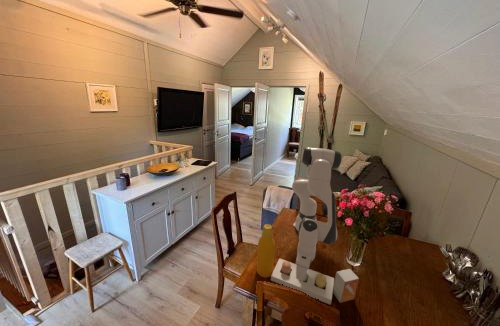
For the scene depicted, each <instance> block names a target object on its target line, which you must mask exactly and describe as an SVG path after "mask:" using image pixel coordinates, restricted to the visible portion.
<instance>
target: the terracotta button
mask: <svg viewBox="0 0 500 326" xmlns="http://www.w3.org/2000/svg"><path fill="white" fill-rule="evenodd" d="M287 261H288V260H285V262H283V263H282V271H281V273H283V274H285V275H288V276H289V275H290V270H291V264H290V263H289V262H290V261H288V262H287Z"/></svg>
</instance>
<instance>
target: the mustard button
mask: <svg viewBox="0 0 500 326" xmlns="http://www.w3.org/2000/svg"><path fill="white" fill-rule="evenodd" d="M324 275H325V274H324ZM324 275H323V273H321V274H318V275H317V277H316V282H315V286H316V287H319V288H321V289H324V288H326V286H325V284H326V277H325V276H324Z"/></svg>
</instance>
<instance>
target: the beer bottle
mask: <svg viewBox="0 0 500 326" xmlns="http://www.w3.org/2000/svg"><path fill="white" fill-rule="evenodd" d="M275 252H276V243H275V238H274V237H273V226H272V225H271V224H269V223H266V224H264V225H263V229H262V234H261V236H260V238H259V239H258V242H257V255H256V256H257V259H256V272H257V275H259V276H260V277H262V278H264V279H265V278H269V277H270V278H271V275H272V273H273V271H274V268H275V267H274V266H275V265H274V264H275Z"/></svg>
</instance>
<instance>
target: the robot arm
mask: <svg viewBox="0 0 500 326" xmlns="http://www.w3.org/2000/svg"><path fill="white" fill-rule="evenodd" d="M301 151H302V152H301V155H300V158H301V159H300V160H301V163H302V164H303V165H305V166H306V171H305V173H306V177H307V179H305V178H301V179H295V180H293V182H292V184H291V188H292V189H291V190H292V191H293V193H294V194H295V195H297V197H298V198H299V201H300V205H299V207H300V209H299V211H298V215H297V216H296V218H295V222H294V223H293V224H292V226H293V227H294V228H295V229H296V231H297V234H298V244H297V250H296V259H295V264H297V268H296V278H297V279H299V280H301V281H304V279H305V276H306V273H307V270H308V269H310V267H311V264H312V262H313V261H314V260H315V257H316V253H317V243H318V242H322V243H324V244H327V245H332V244H334V243H336V241H337V240H338V228H337V207H336V195H335V192H333V191H332V189H331V178H332V170H337V169H339V168H340V166H341V165H342V162H343V156H342V154H341V152H340V151H337V150H335V149H334V150H332V149H328V148H324V147H323V148H319V147H310V146H309V147H308V146H307V147H304V148H303V150H301ZM310 196H313V197H315V198H317V199H319V200H320V201H322V202H323V203H324V204H325V205H326V207H327V222H323V221H320V220H317V207H318V204H317V201H316V200H315V199H313V198H311V197H310Z"/></svg>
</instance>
